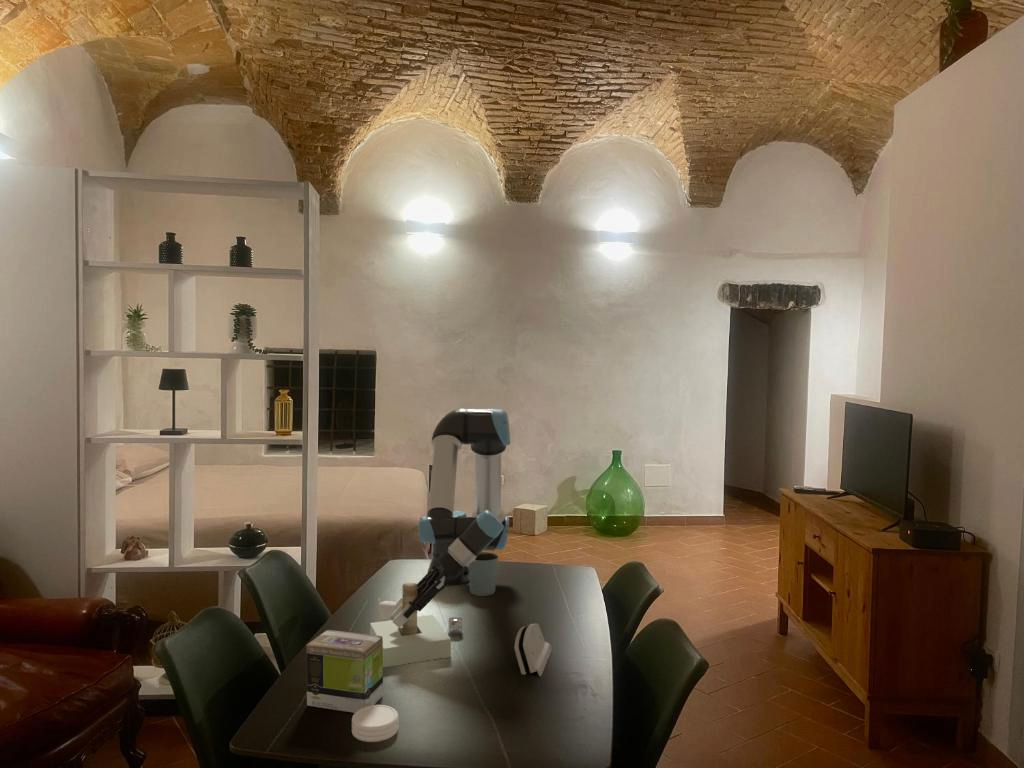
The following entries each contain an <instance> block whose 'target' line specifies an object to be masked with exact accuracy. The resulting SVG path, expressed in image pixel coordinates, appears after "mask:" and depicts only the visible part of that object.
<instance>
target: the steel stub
mask: <svg viewBox="0 0 1024 768" xmlns="http://www.w3.org/2000/svg"><path fill="white" fill-rule="evenodd" d="M447 634H448V636H453V637H456V636H460V635H462V634H463V618H462V617H460V616H452V617H451V616H450V617H449V618H448V633H447Z"/></svg>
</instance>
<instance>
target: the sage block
mask: <svg viewBox="0 0 1024 768" xmlns="http://www.w3.org/2000/svg"><path fill="white" fill-rule="evenodd" d="M369 626H370V627H369V635H377V636H382V637H383V668H389V667H396V666H403V664H404V665H409V664H408V663H410V664H415V663H414V662H416V663H421V662H420V661H423V662H427V661H426V660H429V661H435V660H434V659H436V660H440V659H439V658H442V659H447V658H446V657H449V658H451V657H452V639H451V637H450V635H449V633H447V632H446V630H445V629H444V628H443V627H442V625H441V624H440V622H439V621H438V619H437V618H436V617H435V616H434V614H428V615H419V616H417V634H413V635H406V636H402V626H401V627H400V628H399V627H397V626H396V625H395V624H394V623H393V622H392V620H391V619H390V620H389V621H382V622H381V621H376V622H370V624H369Z"/></svg>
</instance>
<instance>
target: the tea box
mask: <svg viewBox="0 0 1024 768" xmlns="http://www.w3.org/2000/svg"><path fill="white" fill-rule="evenodd" d="M305 649H306V652H305V653H306V656H305V657H306V658H305V659H306V705H307V706H309V707H316V708H322V709H328V710H333V711H339V712H340V711H341V712H348V713H352V714H354V713H355V712H357V711H358V710H359V709H361V708H364V707H367V706H371V705H377V703H378V701H380V700H381V698H382V697H383V692H384V667H383V637H382V636H377V635H370V634H368V633H367V634H365V633H357V632H350V631H349V632H348V631H341V630H331V629H327V630H325V631H324V632H323V633H321V634H319V635H318V636H317V637H316V638H314V639H313V640H312V641H310V642H308V643H307V644H306V648H305Z"/></svg>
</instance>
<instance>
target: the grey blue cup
mask: <svg viewBox="0 0 1024 768" xmlns="http://www.w3.org/2000/svg"><path fill="white" fill-rule="evenodd" d="M475 559H476V560H475V562H473V561H472V562H471V563H470V564H469V581H468V583H469V585H468V586H469V593H470V594H471V595H475V596H480V597H481V596H482V597H486V596H491V595H493V594H495V592H496V584H497V572H498V563H499V555H498V554H496V553H494V552H489V551H487V552H485V551H482V552H481V553H480V554H479V555H478V556H477V557H476V558H475Z"/></svg>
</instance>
